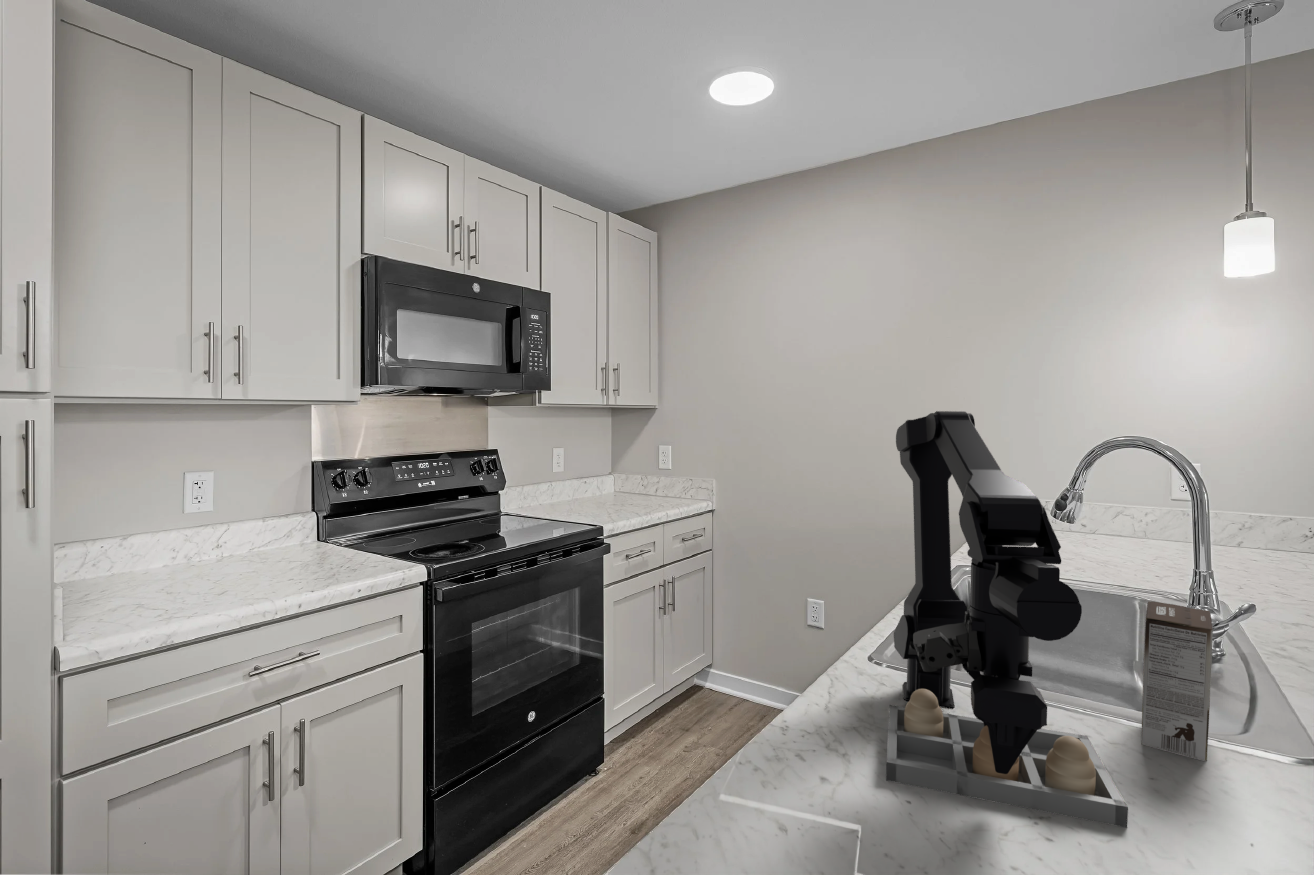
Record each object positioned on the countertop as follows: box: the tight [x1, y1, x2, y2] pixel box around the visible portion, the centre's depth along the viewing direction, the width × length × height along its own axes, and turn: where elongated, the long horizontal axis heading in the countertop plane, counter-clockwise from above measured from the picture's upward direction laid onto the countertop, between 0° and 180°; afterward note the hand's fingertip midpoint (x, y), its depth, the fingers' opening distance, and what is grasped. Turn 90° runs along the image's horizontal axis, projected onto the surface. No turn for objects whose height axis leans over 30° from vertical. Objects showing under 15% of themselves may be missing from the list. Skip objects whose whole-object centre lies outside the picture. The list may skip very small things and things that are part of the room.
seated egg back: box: [904, 689, 944, 738], centre depth 79 cm, size 4×4×6 cm
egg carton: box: [885, 704, 1129, 829], centre depth 74 cm, size 15×22×2 cm
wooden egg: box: [972, 725, 1019, 782], centre depth 70 cm, size 4×4×6 cm
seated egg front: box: [1045, 736, 1096, 796], centre depth 68 cm, size 4×4×6 cm
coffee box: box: [1140, 600, 1214, 762], centre depth 80 cm, size 9×6×16 cm
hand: (995, 750), depth 70 cm, fingers open, 9 cm apart
